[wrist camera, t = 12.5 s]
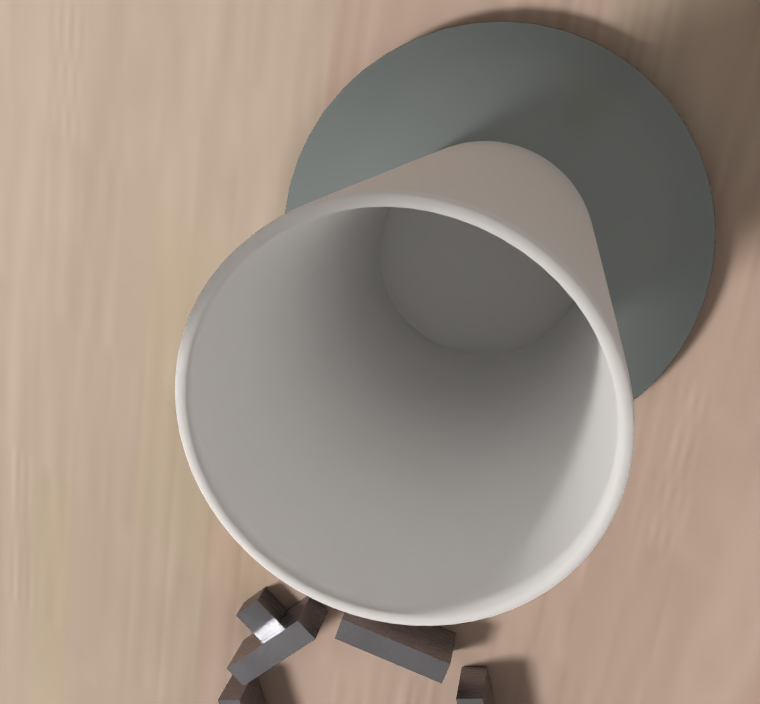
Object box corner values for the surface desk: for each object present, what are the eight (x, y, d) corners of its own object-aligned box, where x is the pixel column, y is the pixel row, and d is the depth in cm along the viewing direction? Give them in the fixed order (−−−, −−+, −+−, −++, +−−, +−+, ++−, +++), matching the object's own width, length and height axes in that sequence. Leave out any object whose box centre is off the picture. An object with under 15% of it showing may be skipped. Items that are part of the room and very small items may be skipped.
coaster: (216, 229, 30) (207, 232, 30) (514, -85, 24) (512, -91, 24) (466, 505, 32) (464, 514, 31) (807, 274, 26) (814, 279, 25)
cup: (623, 165, 25) (709, 254, 11) (561, 379, 28) (561, 683, 14) (395, 121, 27) (189, 145, 12) (359, 330, 30) (158, 557, 15)
